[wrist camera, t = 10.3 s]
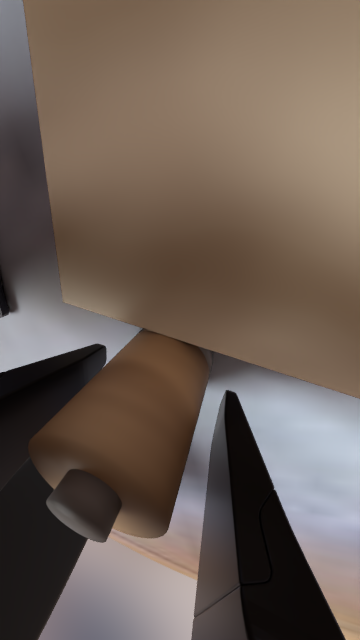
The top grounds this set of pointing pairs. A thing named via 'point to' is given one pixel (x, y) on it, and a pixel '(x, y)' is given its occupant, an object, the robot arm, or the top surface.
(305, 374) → the plank
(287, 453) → the top surface
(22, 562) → the battery charger
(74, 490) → the brown knobbed cylinder
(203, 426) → the top surface
